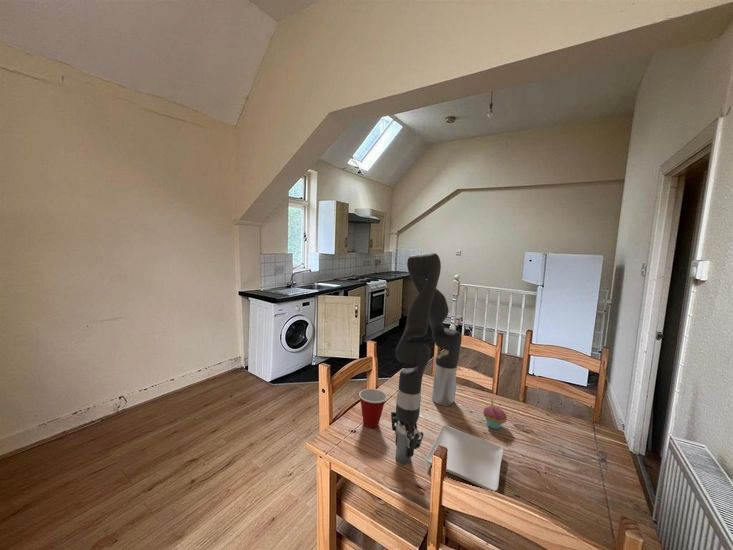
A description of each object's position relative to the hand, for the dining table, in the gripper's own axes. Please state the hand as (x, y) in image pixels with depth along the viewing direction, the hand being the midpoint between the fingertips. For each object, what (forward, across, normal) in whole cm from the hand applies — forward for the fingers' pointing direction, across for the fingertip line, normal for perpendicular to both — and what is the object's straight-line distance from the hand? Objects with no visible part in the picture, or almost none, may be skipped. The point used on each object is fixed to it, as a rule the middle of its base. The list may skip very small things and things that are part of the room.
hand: (403, 450), depth 96 cm
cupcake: (+3, -2, -44) cm, 44 cm away
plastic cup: (+3, +20, 0) cm, 20 cm away
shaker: (+3, 0, 0) cm, 3 cm away
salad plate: (+3, -10, -18) cm, 21 cm away
